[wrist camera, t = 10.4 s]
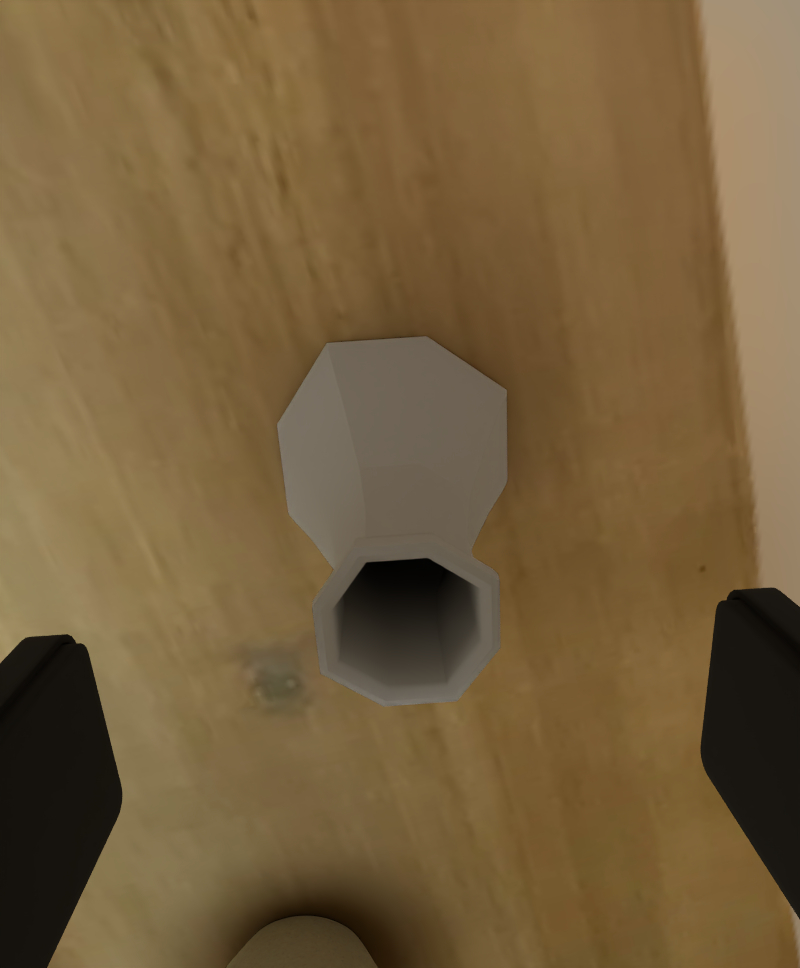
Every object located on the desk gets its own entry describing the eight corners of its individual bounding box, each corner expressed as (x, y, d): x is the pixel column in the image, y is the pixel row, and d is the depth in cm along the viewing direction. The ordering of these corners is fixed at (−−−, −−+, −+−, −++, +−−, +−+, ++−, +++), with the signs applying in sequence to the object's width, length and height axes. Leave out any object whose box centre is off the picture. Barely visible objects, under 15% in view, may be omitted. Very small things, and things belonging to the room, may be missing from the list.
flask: (303, 302, 18) (224, 357, 9) (543, 366, 19) (700, 478, 10) (255, 529, 21) (154, 761, 11) (472, 577, 22) (544, 831, 12)
